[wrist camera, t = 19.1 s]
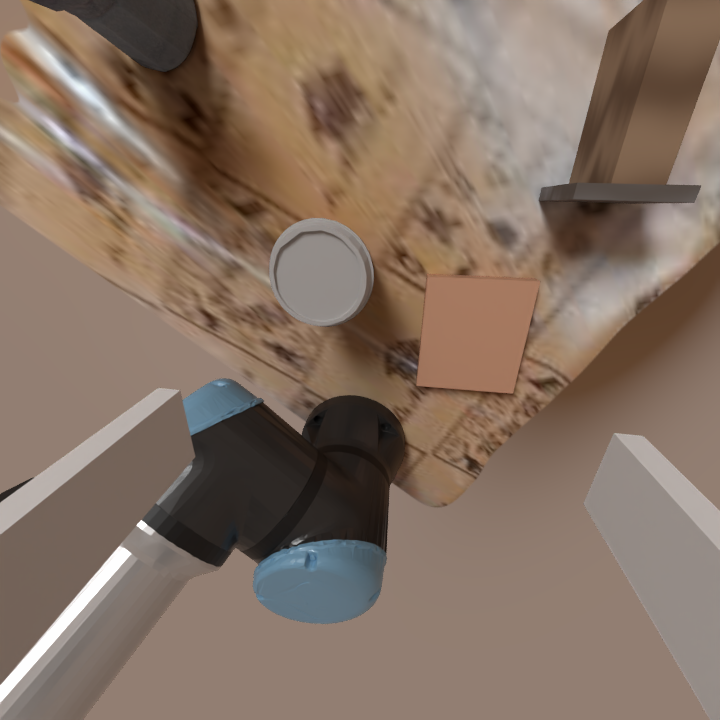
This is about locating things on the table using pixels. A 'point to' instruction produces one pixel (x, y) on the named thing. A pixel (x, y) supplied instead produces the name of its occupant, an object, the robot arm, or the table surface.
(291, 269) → the disposable coffee cup
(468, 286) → the tile
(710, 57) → the tan flared wedge
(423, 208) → the table surface
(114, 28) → the moka pot
